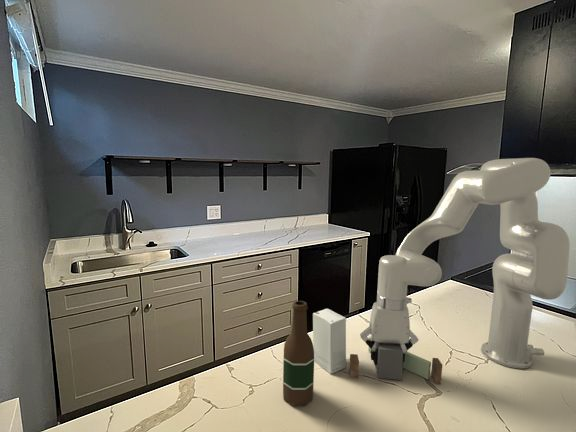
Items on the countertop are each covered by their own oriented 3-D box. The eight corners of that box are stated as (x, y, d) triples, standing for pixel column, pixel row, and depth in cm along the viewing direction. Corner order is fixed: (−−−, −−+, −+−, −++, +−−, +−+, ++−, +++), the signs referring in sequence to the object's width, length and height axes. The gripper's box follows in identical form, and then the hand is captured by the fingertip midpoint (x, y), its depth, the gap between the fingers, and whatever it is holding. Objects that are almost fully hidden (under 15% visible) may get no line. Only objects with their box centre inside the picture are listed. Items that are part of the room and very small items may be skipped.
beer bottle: (289, 412, 70) (291, 312, 67) (277, 390, 78) (278, 299, 74) (319, 402, 74) (322, 306, 70) (304, 382, 81) (307, 294, 77)
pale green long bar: (436, 376, 84) (437, 358, 83) (440, 384, 81) (442, 364, 80) (349, 370, 86) (350, 352, 85) (350, 377, 83) (351, 358, 82)
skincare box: (346, 368, 87) (348, 318, 85) (329, 375, 84) (332, 323, 82) (326, 353, 94) (328, 307, 92) (310, 359, 91) (312, 311, 88)
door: (429, 377, 83) (431, 361, 83) (426, 381, 82) (427, 365, 81) (370, 349, 96) (371, 336, 95) (366, 352, 94) (367, 338, 94)
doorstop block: (395, 365, 89) (397, 338, 88) (401, 380, 82) (403, 351, 81) (374, 363, 89) (375, 336, 89) (378, 377, 83) (379, 349, 82)
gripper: (419, 297, 87) (414, 356, 89) (356, 294, 88) (354, 353, 90) (429, 309, 79) (423, 373, 82) (361, 305, 81) (357, 369, 83)
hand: (387, 362), depth 86 cm, fingers closed on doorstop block, 6 cm apart
